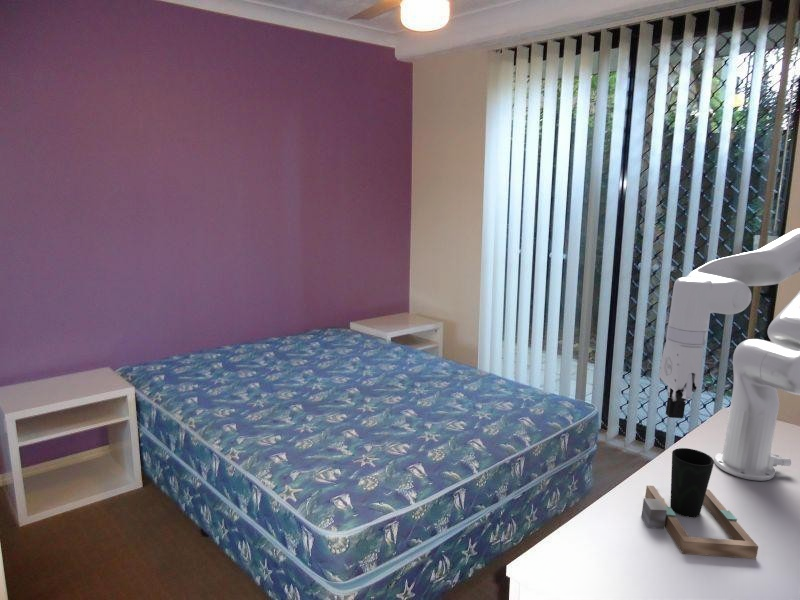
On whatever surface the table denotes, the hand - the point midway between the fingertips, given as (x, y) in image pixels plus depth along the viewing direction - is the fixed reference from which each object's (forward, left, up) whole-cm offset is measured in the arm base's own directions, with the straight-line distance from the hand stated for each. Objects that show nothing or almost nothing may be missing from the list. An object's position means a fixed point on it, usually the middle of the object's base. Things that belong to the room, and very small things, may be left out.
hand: (674, 416), depth 126 cm
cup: (0, +10, -17) cm, 19 cm away
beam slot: (+1, +16, -16) cm, 23 cm away
